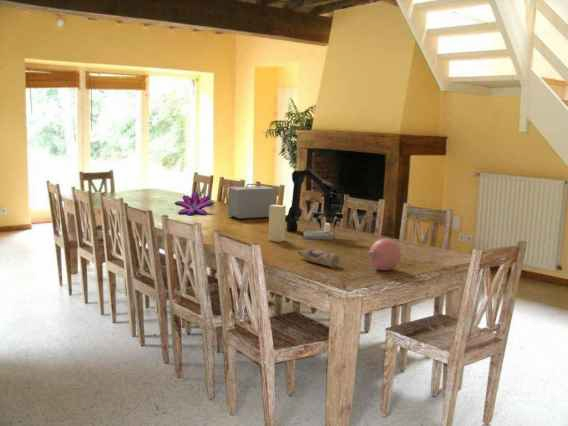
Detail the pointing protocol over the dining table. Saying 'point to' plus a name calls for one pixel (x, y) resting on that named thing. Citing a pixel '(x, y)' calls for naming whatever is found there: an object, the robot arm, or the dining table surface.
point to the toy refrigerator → (276, 223)
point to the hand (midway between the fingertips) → (327, 228)
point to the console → (317, 235)
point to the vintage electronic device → (251, 201)
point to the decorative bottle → (321, 257)
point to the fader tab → (327, 228)
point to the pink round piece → (384, 254)
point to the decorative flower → (194, 204)
